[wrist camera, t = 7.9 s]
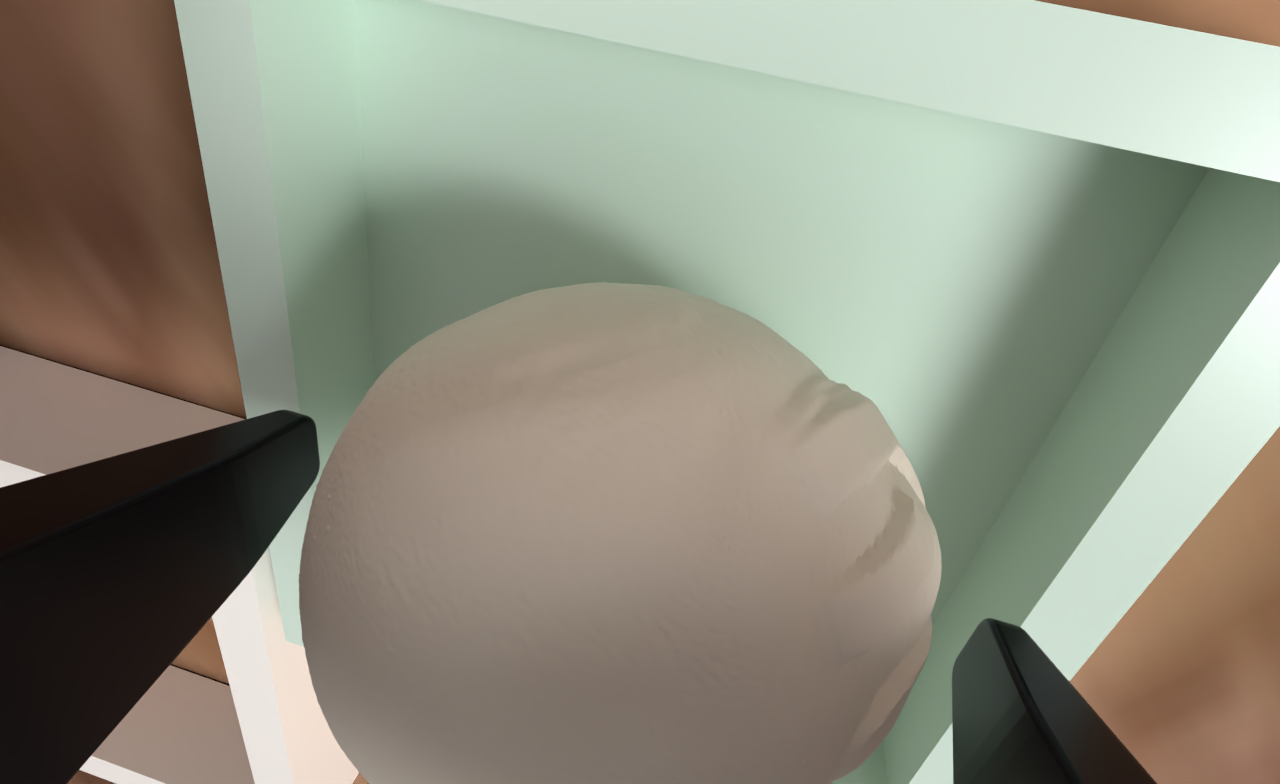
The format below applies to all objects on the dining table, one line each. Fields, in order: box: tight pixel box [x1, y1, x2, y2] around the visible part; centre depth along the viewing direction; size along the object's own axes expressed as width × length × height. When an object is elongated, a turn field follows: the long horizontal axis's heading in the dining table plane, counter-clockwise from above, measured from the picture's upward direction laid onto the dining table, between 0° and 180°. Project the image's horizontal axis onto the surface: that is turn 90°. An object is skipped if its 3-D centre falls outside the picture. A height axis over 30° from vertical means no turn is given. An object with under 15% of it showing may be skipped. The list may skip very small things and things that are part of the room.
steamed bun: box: [298, 282, 942, 784], centre depth 8 cm, size 7×7×7 cm
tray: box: [174, 0, 1280, 784], centre depth 11 cm, size 13×13×3 cm
